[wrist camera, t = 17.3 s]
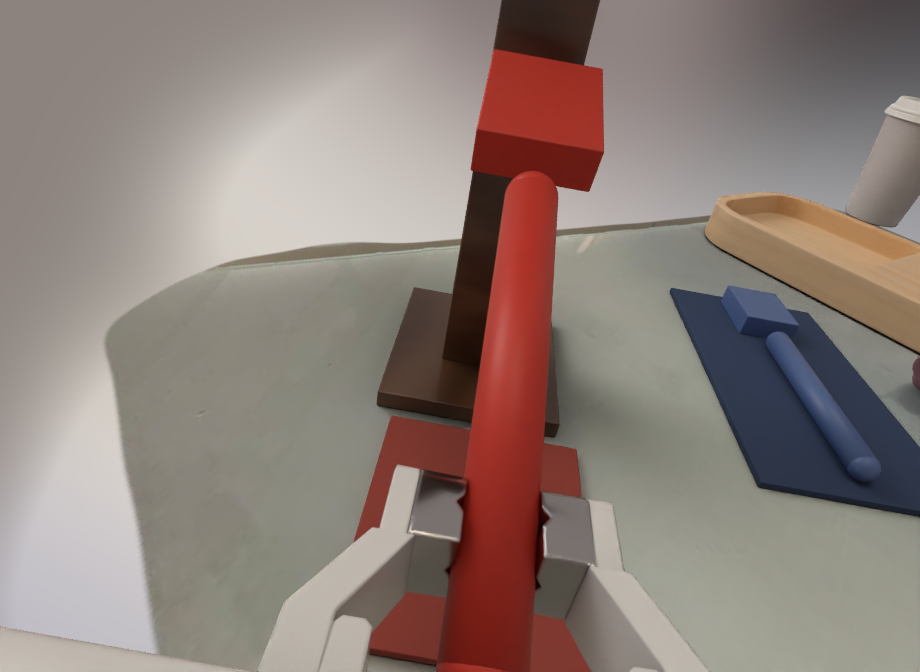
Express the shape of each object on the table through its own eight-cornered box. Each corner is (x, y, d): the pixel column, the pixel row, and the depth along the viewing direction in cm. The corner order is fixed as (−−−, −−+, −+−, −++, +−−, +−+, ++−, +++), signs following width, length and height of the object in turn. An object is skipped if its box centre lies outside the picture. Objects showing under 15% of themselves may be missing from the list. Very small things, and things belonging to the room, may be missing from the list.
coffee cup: (924, 237, 74) (1001, 119, 66) (851, 223, 74) (920, 104, 66) (886, 211, 82) (952, 103, 73) (821, 199, 82) (879, 90, 74)
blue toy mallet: (898, 494, 31) (915, 474, 30) (826, 481, 31) (842, 460, 30) (766, 310, 47) (775, 293, 47) (720, 301, 47) (727, 285, 47)
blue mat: (757, 487, 30) (761, 482, 30) (669, 291, 48) (671, 287, 48) (977, 527, 30) (982, 522, 30) (805, 316, 49) (808, 312, 48)
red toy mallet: (584, 749, 10) (614, 751, 8) (357, 709, 10) (353, 705, 8) (589, 108, 22) (603, 68, 20) (487, 89, 22) (493, 48, 20)
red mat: (324, 645, 20) (324, 640, 20) (390, 420, 30) (391, 415, 30) (600, 695, 20) (603, 690, 20) (574, 454, 30) (576, 448, 30)
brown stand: (376, 405, 31) (438, -260, 17) (412, 298, 41) (470, -173, 27) (555, 437, 31) (771, -198, 17) (547, 323, 41) (678, -135, 27)
